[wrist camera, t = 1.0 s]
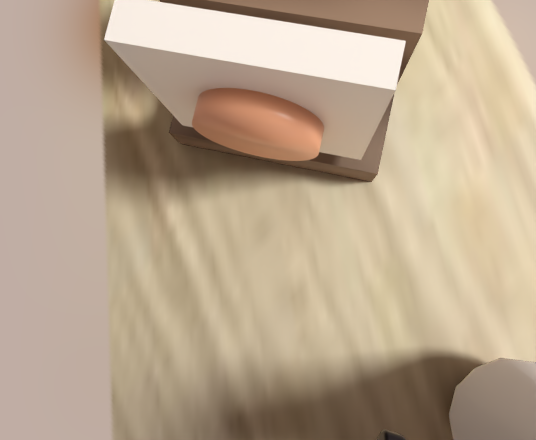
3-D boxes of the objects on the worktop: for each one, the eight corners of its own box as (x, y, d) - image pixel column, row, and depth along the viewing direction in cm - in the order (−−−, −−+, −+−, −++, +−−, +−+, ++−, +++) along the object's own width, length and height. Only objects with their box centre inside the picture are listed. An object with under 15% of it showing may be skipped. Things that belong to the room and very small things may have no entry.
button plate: (356, 180, 20) (388, 123, 12) (177, 144, 21) (95, 70, 13) (367, 130, 20) (405, 40, 12) (189, 97, 21) (116, -6, 13)
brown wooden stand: (371, 181, 23) (399, 145, 16) (180, 143, 24) (128, 94, 17) (401, 35, 23) (441, -62, 16) (215, 6, 25) (177, -95, 18)
